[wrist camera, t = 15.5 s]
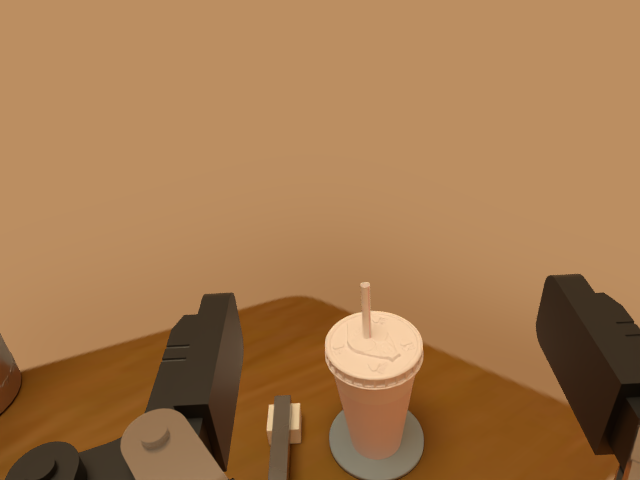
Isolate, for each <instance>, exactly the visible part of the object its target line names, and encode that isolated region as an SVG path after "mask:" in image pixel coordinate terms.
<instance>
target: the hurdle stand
mask: <svg viewBox="0 0 640 480" xmlns="http://www.w3.org/2000/svg"><path fill="white" fill-rule="evenodd" d="M273 412H274V405H269V411H268V422H267V435H268V441H269V445H271V437H272V425H273ZM301 421H302V416H301V408H300V403H296V404H292V418H291V440H290V444H293V443H301Z"/></svg>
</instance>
